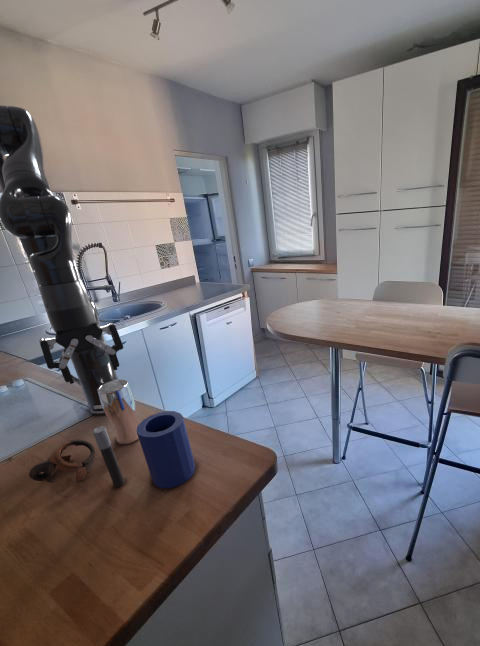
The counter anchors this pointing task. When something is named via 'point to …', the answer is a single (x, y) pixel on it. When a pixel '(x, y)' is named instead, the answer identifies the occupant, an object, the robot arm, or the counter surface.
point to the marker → (108, 455)
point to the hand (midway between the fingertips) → (94, 375)
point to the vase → (166, 448)
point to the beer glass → (120, 409)
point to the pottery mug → (64, 463)
